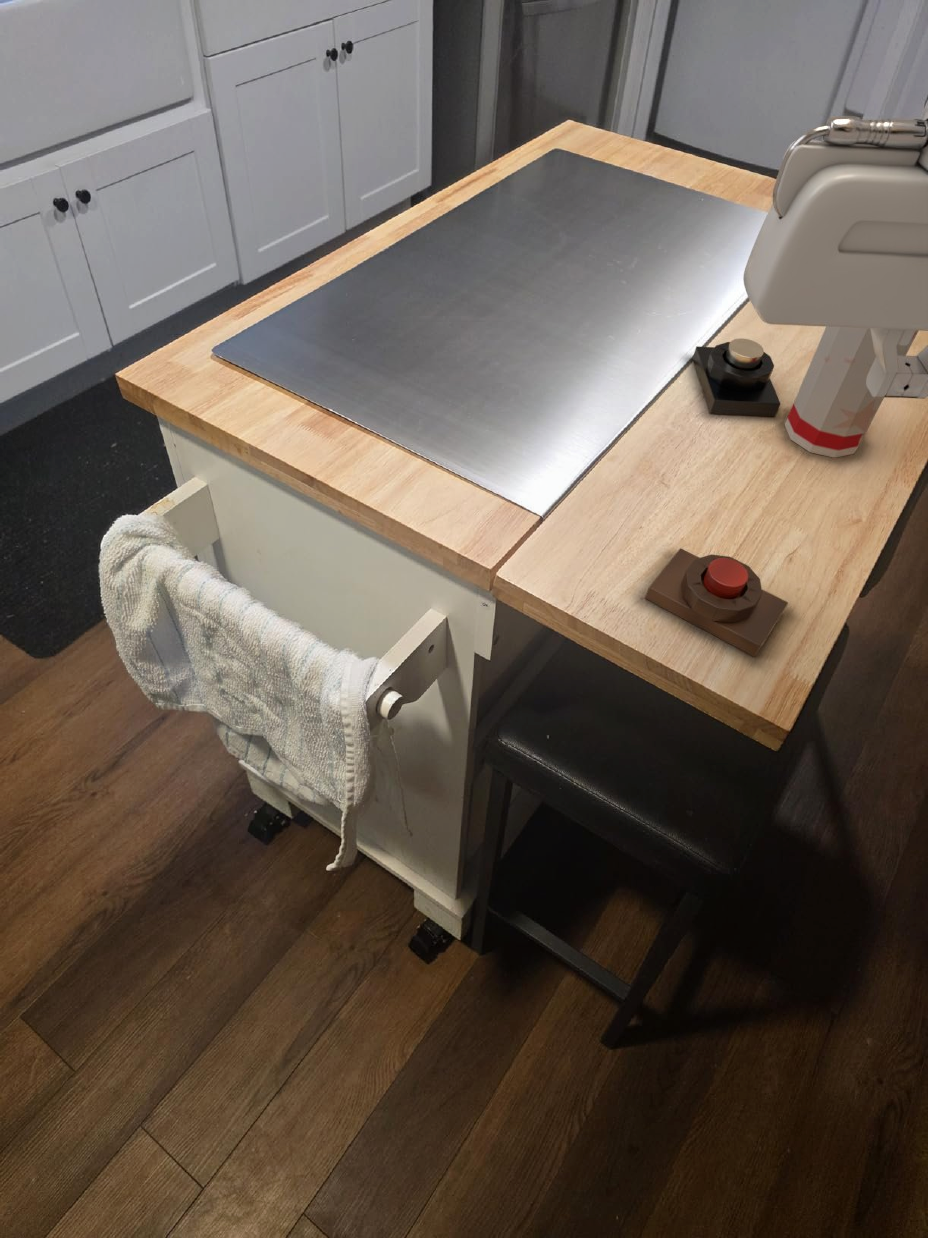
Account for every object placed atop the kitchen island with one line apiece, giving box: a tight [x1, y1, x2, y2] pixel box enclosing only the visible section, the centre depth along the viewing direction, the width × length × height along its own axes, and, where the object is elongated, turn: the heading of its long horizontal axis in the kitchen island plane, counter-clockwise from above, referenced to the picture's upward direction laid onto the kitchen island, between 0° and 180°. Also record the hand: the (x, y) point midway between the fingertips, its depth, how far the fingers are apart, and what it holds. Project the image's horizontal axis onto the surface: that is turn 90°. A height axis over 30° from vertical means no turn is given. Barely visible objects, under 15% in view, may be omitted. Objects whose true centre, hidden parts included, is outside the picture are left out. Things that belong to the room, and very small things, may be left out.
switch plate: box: [691, 341, 781, 418], centre depth 93 cm, size 7×10×4 cm
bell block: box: [644, 547, 789, 657], centre depth 72 cm, size 10×6×3 cm, turn 54°
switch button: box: [724, 337, 765, 371], centre depth 91 cm, size 4×4×2 cm
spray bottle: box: [784, 327, 919, 459], centre depth 81 cm, size 8×8×25 cm
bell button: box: [704, 558, 748, 599], centre depth 71 cm, size 3×3×2 cm
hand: (893, 392), depth 49 cm, fingers closed
